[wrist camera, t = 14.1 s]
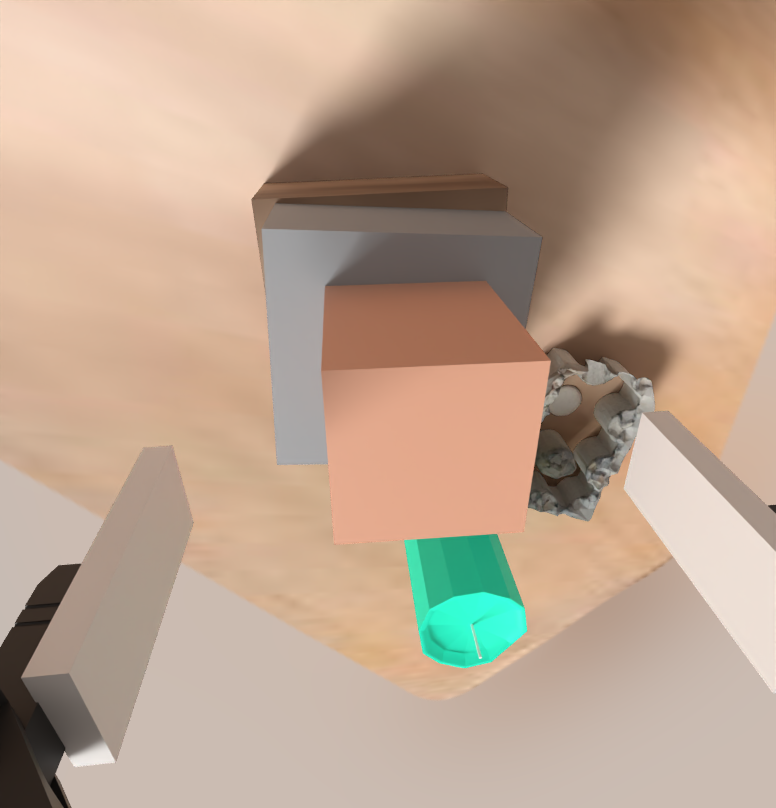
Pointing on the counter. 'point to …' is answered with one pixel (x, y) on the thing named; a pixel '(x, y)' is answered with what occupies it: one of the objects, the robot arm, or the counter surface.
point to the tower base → (383, 195)
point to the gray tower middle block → (365, 265)
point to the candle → (464, 598)
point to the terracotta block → (428, 411)
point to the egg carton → (592, 453)
